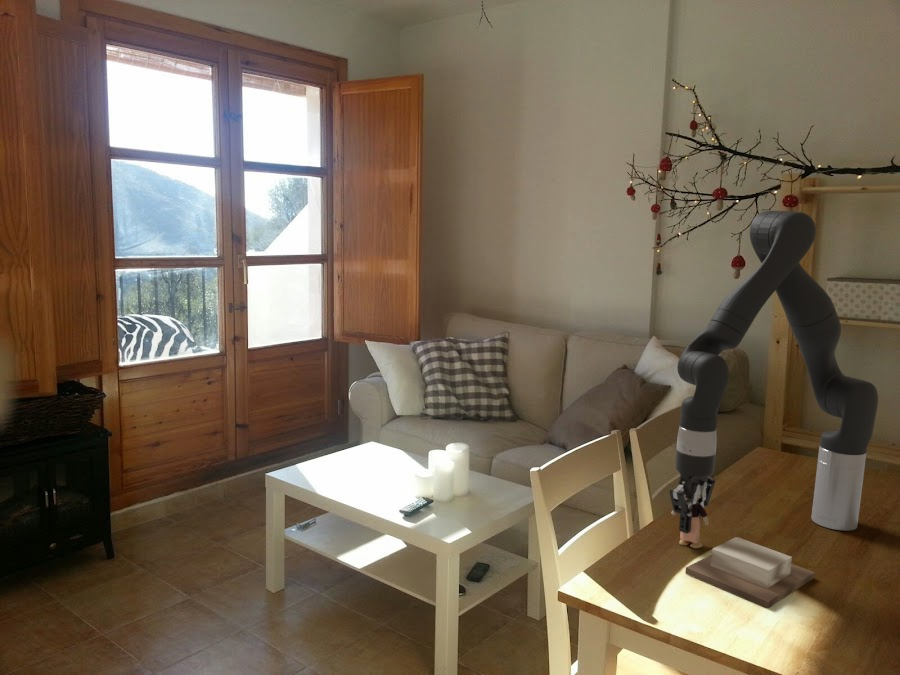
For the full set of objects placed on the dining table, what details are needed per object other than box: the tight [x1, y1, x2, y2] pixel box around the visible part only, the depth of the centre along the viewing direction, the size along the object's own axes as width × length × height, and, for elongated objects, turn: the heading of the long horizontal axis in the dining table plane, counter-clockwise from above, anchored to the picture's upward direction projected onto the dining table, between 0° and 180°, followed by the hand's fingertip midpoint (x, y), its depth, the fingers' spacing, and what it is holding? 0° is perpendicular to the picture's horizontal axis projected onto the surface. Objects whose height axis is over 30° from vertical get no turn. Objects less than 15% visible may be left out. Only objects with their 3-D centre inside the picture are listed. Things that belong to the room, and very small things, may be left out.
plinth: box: [684, 536, 815, 609], centre depth 139 cm, size 18×16×5 cm
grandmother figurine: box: [670, 489, 710, 549], centre depth 152 cm, size 8×4×13 cm, turn 65°
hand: (689, 529), depth 152 cm, fingers closed on grandmother figurine, 3 cm apart
